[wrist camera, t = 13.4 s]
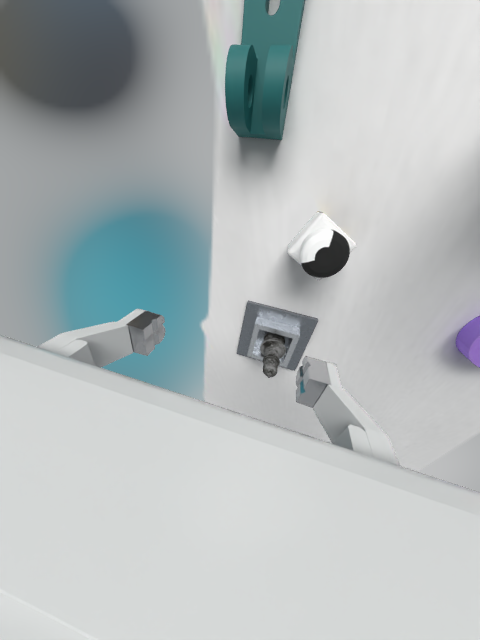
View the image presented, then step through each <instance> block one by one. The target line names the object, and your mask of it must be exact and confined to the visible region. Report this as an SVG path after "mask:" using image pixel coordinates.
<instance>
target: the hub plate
mask: <svg viewBox="0 0 480 640" xmlns="http://www.w3.org/2000/svg"><path fill="white" fill-rule="evenodd" d="M317 322H318V319H317V318H313V317H310V316H306V315H302V314H298V313H294V312H290V311H286V310H283V309H279V308H275V307H271V306H267V305H263V304H259V303H256V302H252V301H248V302H247V306H246V311H245V316H244V321H243V325H242V330H241V335H240V340H239V345H238V350H237V354H240V355H243V356H246V357H250V358H253V359H257V360H260V361H263V358H264V355H263V354H262V353H261V350H260V347H261V344H262V343H263V342H264V336H265V335H266V334H267V333H269V332H271V333H274V334H278V335H282V336H284V338H285V345H284V346H285V348H286V353H285V355H284V356H283V357H282V358H280V359H279V360H280V364H279V365H278V366H280V367H284V368H287V369H291V370H294V371H295V369H296V367H297V365H298V363H299V361H300V359H301V356H302V354H303V352H304V350H305V348H306V346H307V344H308V342H309V339H310V337H311V335H312V333H313V331H314V329H315V327H316V324H317Z"/></svg>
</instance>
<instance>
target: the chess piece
mask: <svg viewBox="0 0 480 640" xmlns="http://www.w3.org/2000/svg"><path fill="white" fill-rule="evenodd" d="M284 345H285V338H284V336H282V335H278V334H274V333H271V332H269V333H267V334H266V335H265V336H264V342H263V343H262V344H261V347H260V350H261V353H262V354H263V355H264V358H263V363H264V366H263V373H264V374H265V375H266V376H268V378H270V377H273V376H275V375H276V374H277V368H278V365H279V364H280V360H279V359H280V358H282V357H283V356H284V355H285V353H286V348H285V346H284Z"/></svg>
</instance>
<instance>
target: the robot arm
mask: <svg viewBox="0 0 480 640" xmlns="http://www.w3.org/2000/svg"><path fill="white" fill-rule="evenodd" d="M164 322H165V321H164V317H163V316H162V315H158V314H155V313H151V312H149V311H145V310H142V309H136V310H134V311H133V312H131V313H130V314H128V315H127V316H125V317H124V318H122V319H121V320H119V321H118V322H110V323H105V324H101V325H96V326H92V327H87V328H83V329H79V330H74V331H70V332H65V333H61V334H59V335H58V336H56V337H54V338H52V339H50V340H49V341H47V342H45V343H43V344H42V345H40V346H38V347H36V346H33V345H30V344H27V343H24V342H21V341H18V340H15V339H12V338H8V337H5V336H2V335H0V640H480V492H477V491H475V490H472V489H469V488H466V487H463V486H459V485H456V484H453V483H450V482H447V481H444V480H441V479H438V478H435V477H432V476H428V475H426V474H422V473H420V472H417V471H414V470H411V469H408V468H405V467H402V466H400V463H399V461H398V458H397V456H396V453H395V451H394V449H393V446H392V444H391V441H390V439H389V436H388V435H387V434H386V433H385V432H384V430H383V429H382V428H381V427H380V426H379V425H378V424H377V423H376V422H375V421H374V420H373V419H372V417H371V416H370V415H369V414H368V413H367V412H366V411H365V410H364V409H363V408H362V407H361V406H360V404H359V403H358V402H357V401H356V400H355V399H354V398H353V397H352V396H351V395H350V394H349V393H348V391H347V390H345V389H343V388H342V384H341V380H340V377H339V373H338V369H337V366H336V364H334V363H330V362H327V361H322V360H318V359H315V358H311V357H307V356H305V357H304V359H303V361H302V364H303V366H301V367H299V370H298V372H297V376H296V385H297V387H298V388H297V390H296V402H297V403H300V404H303V405H306V406H309V407H312V408H313V410H314V412H315V414H316V415H317V417H318V419H319V421H320V422H321V424H322V426H323V428H324V430H325V431H326V433H327V435H328V437H329V438H330V440H331V442H332V444H331V443H328V442H325V441H322V440H319V439H316V438H313V437H310V436H307V435H304V434H301V433H298V432H295V431H292V430H289V429H286V428H283V427H280V426H277V425H274V424H271V423H268V422H265V421H261V420H258V419H255V418H252V417H249V416H246V415H243V414H240V413H237V412H234V411H231V410H228V409H225V408H222V407H219V406H216V405H213V404H210V403H207V402H204V401H200V400H198V399H194V398H191V397H188V396H185V395H182V394H179V393H176V392H173V391H170V390H167V389H164V388H161V387H158V386H155V385H152V384H149V383H146V382H143V381H140V380H137V379H133V378H131V377H127V376H124V375H121V374H118V373H115V372H112V371H109V370H106V369H103V368H101V367H103V366H105V365H107V364H109V363H112V362H114V361H115V360H118V359H120V358H123V357H125V356H127V355H129V354H131V353H133V352H135V353H139V354H142V355H146V356H148V355H149V354H150V352H151V351H153V350H154V349H155V345H156V344H159V343H160V342H161V341H162V340H163V338H164V336H165V328H164V326H163V325H162V324H163V323H164Z"/></svg>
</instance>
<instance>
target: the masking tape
mask: <svg viewBox="0 0 480 640" xmlns="http://www.w3.org/2000/svg"><path fill="white" fill-rule="evenodd" d="M456 346H457V348H458V350H459V351H460V352H461V353H462V354H463V355H464V356H465V357H467V358H468V359H469V360H470V361H471V362H472V363H473V364H474V365H476V366H478V367H479V368H480V316H478V317H476V318H474V319H473V320H471V321H470V322H468V323H467V324H466V325H465V326H464V327H463V328H462V329H461V330H460V332H459V333H458V335H457V338H456Z"/></svg>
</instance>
